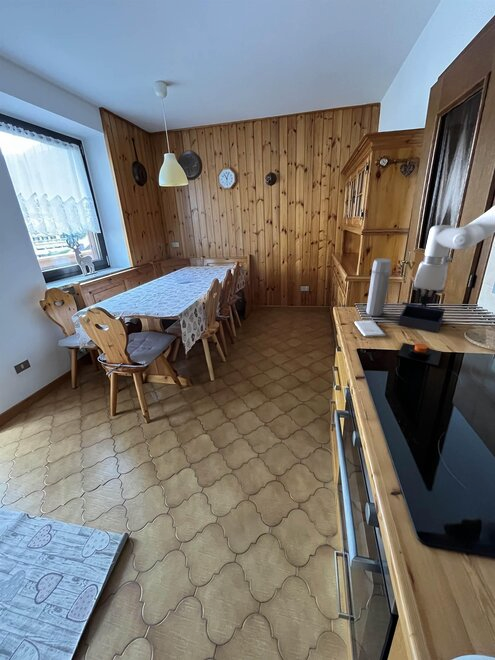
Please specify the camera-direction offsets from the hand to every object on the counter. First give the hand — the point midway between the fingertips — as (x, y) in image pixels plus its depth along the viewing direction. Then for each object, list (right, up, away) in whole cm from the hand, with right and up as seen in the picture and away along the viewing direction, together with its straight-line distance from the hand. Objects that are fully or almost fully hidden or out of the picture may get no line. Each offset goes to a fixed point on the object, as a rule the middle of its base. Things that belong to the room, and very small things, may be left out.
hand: (424, 304), depth 116 cm
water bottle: (-13, -3, +15) cm, 20 cm away
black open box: (+2, -7, +5) cm, 9 cm away
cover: (+1, -1, +2) cm, 3 cm away
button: (-13, -17, -18) cm, 28 cm away
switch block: (-12, -20, -17) cm, 29 cm away
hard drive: (-22, -11, +2) cm, 25 cm away
